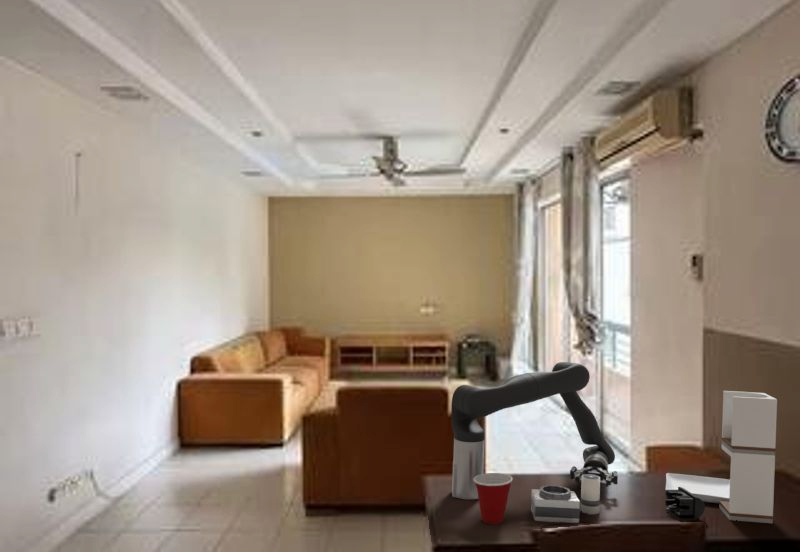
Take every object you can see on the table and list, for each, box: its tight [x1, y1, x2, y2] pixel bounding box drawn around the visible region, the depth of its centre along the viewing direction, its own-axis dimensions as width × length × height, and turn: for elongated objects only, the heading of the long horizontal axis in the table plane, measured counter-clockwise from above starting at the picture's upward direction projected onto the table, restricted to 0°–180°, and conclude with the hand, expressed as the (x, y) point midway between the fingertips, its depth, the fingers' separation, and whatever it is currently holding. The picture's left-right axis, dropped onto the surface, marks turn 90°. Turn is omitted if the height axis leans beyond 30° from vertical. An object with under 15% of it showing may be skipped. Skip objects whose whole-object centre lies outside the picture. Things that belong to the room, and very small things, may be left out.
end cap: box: [664, 487, 706, 521], centre depth 208 cm, size 10×7×7 cm
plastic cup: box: [473, 472, 514, 525], centre depth 198 cm, size 11×11×12 cm
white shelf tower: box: [718, 390, 778, 524], centre depth 209 cm, size 11×11×35 cm
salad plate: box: [664, 472, 730, 504], centre depth 228 cm, size 21×21×3 cm
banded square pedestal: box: [530, 484, 581, 524], centre depth 203 cm, size 12×9×8 cm
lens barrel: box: [580, 474, 601, 515], centre depth 208 cm, size 5×5×10 cm
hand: (592, 481), depth 217 cm, fingers open, 8 cm apart
